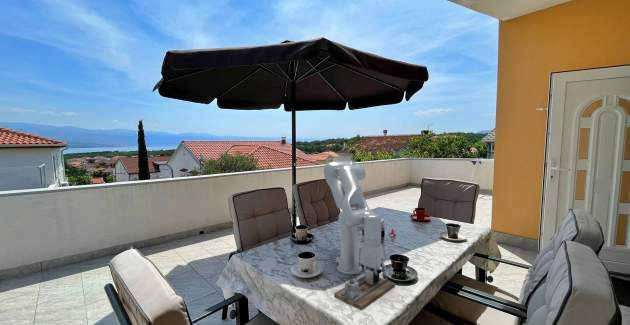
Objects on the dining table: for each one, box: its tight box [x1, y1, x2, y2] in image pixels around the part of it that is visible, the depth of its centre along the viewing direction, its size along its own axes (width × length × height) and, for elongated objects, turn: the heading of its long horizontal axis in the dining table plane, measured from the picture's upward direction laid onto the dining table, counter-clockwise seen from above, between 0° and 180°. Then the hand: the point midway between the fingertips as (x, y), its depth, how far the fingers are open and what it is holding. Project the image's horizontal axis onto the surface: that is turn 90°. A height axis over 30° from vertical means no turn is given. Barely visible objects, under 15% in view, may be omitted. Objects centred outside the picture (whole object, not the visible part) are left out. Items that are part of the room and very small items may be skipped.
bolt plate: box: [333, 275, 396, 311], centre depth 122 cm, size 14×26×8 cm, turn 135°
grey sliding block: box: [364, 267, 375, 285], centre depth 125 cm, size 4×5×8 cm
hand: (371, 280), depth 126 cm, fingers closed on grey sliding block, 4 cm apart
